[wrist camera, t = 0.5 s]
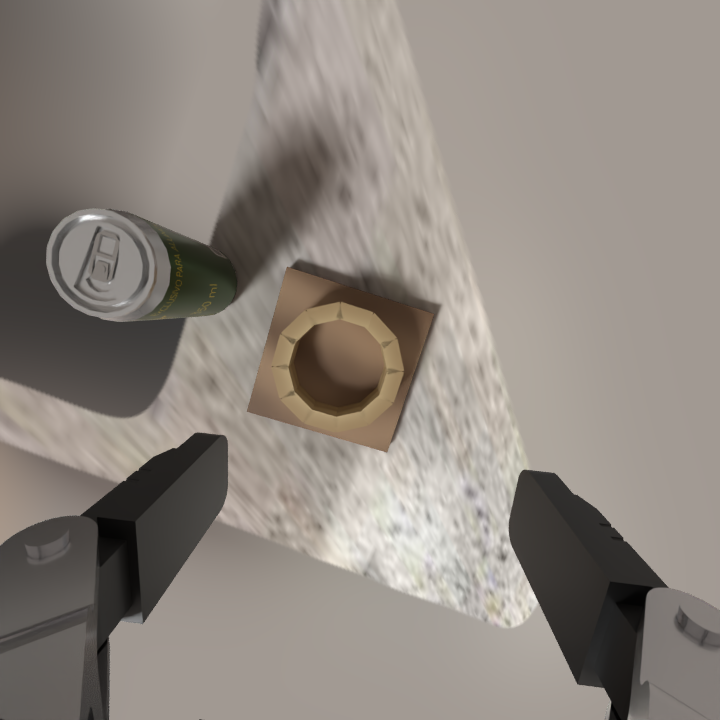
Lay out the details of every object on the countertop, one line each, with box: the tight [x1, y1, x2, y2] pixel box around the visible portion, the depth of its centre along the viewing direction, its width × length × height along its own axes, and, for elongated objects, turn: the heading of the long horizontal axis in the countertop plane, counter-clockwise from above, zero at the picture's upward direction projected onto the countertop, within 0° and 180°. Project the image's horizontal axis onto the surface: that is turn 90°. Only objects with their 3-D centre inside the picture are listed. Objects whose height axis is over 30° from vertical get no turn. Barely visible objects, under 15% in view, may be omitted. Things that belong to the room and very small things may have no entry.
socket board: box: [247, 267, 434, 452], centre depth 28 cm, size 12×12×4 cm
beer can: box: [46, 208, 237, 322], centre depth 22 cm, size 5×5×12 cm
